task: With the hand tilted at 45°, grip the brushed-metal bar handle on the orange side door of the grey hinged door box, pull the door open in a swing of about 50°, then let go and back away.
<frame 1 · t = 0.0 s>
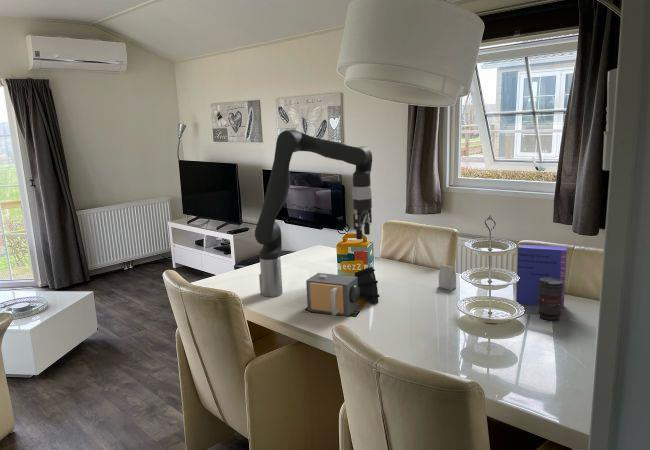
hand: (363, 236, 206), 29 cm above the table, tool pointing down, fingers open, 8 cm apart
camera lens: (549, 319, 190), on the table
magazine 2: (366, 299, 219), on the table
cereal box: (539, 305, 204), on the table
side door: (323, 299, 201), point 7 cm above the table, hinge at 0.0°
grey hinged door box: (333, 308, 210), on the table
light grey rectangular block: (447, 287, 230), on the table
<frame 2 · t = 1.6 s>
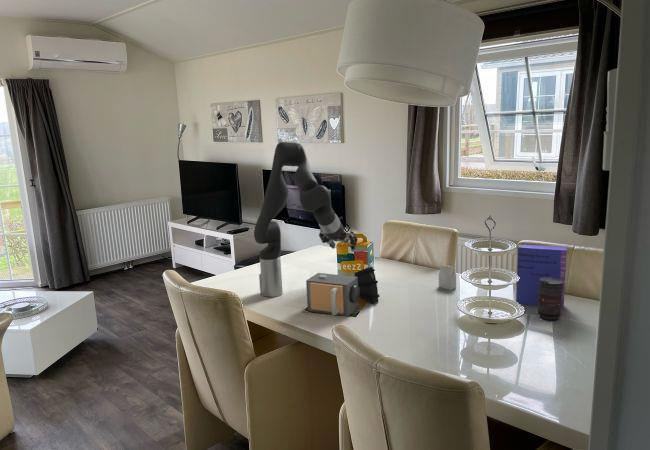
hand: (343, 247, 201), 27 cm above the table, tool tilted 45°, fingers open, 8 cm apart
nothing on the table moved.
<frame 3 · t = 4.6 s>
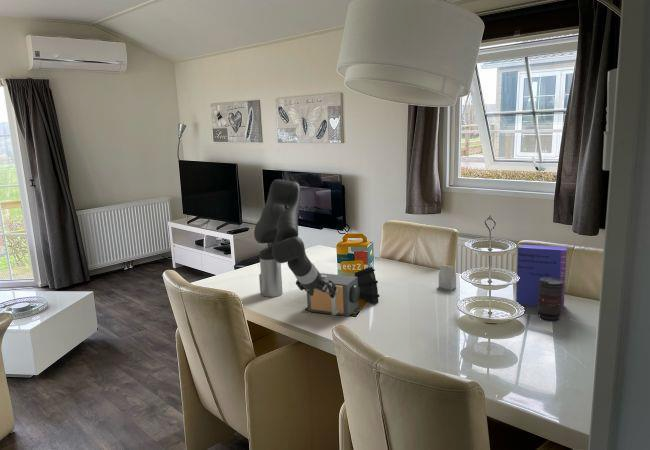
hand: (322, 294, 189), 13 cm above the table, tool tilted 45°, fingers open, 8 cm apart
nothing on the table moved.
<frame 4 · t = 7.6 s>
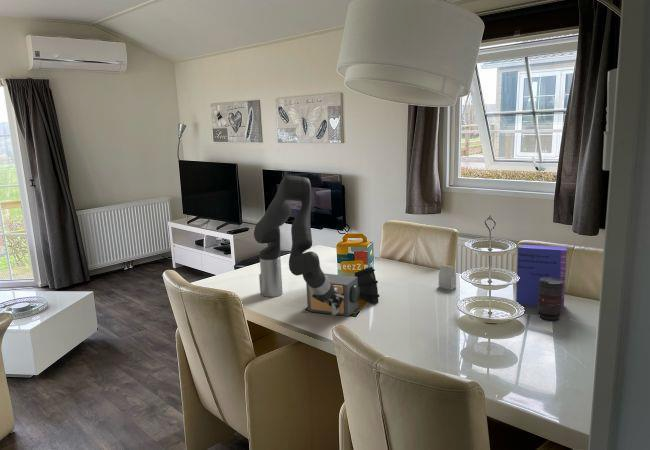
hand: (335, 305, 199), 5 cm above the table, tool tilted 45°, fingers closed on side door
side door: (323, 299, 201), point 7 cm above the table, hinge at 0.0°, touching gripper
everything else where it was.
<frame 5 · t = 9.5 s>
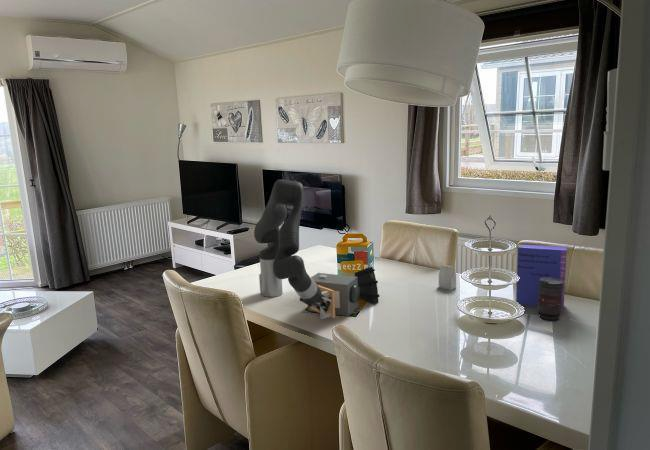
hand: (324, 309, 196), 5 cm above the table, tool tilted 45°, fingers closed on side door
side door: (317, 301, 199), point 7 cm above the table, hinge at 24.4°, touching gripper
everything else where it was.
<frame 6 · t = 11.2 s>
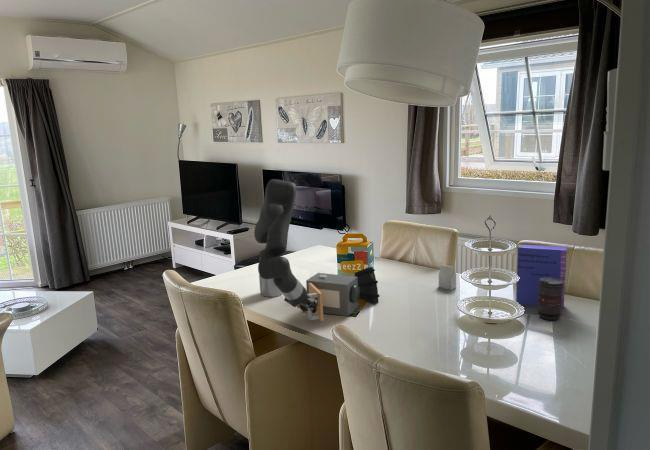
hand: (309, 310, 196), 5 cm above the table, tool tilted 45°, fingers open, 3 cm apart
side door: (310, 301, 199), point 7 cm above the table, hinge at 45.9°
everything else where it was.
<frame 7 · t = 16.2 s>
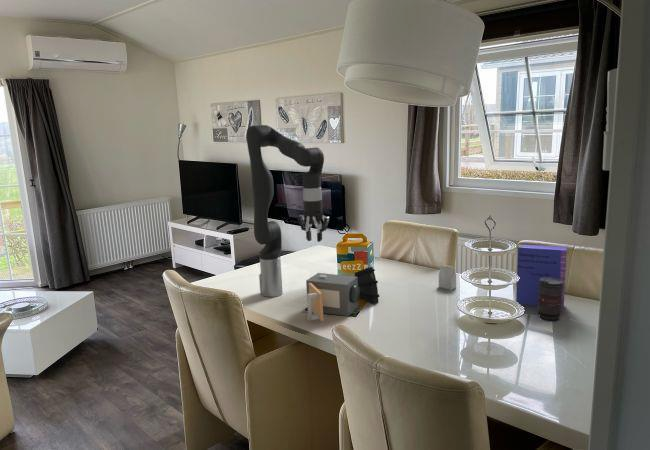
hand: (314, 240, 205), 29 cm above the table, tool pointing down, fingers open, 4 cm apart
nothing on the table moved.
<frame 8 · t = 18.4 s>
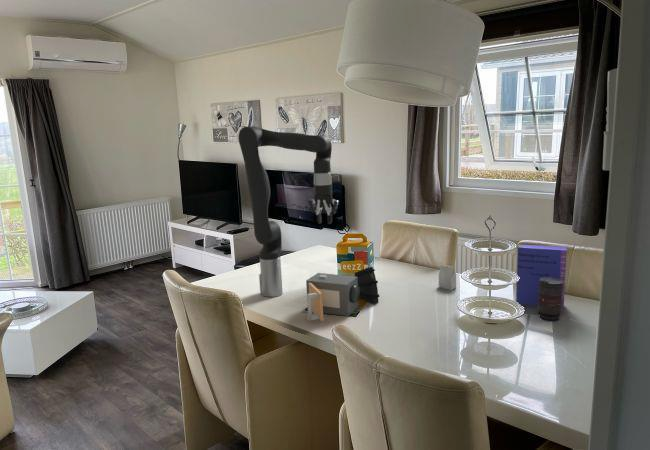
hand: (324, 223, 217), 33 cm above the table, tool pointing down, fingers open, 4 cm apart
nothing on the table moved.
at the end: side door at +46° (first picture: +0°); the gripper is holding nothing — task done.
